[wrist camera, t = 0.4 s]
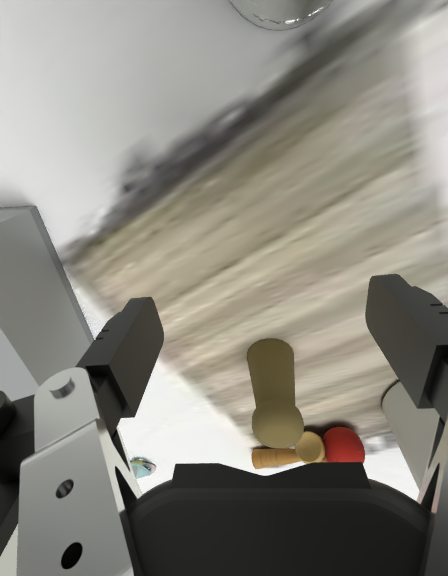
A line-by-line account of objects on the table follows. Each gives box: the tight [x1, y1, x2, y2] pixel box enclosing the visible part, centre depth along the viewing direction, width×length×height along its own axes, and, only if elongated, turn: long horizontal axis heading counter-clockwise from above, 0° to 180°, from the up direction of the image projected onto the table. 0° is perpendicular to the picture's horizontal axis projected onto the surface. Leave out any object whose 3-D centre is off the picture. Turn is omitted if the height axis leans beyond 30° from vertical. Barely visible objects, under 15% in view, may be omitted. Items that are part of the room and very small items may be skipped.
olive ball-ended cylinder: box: [247, 339, 304, 449], centre depth 31 cm, size 6×6×11 cm
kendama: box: [252, 427, 365, 469], centre depth 44 cm, size 8×6×18 cm
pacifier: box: [130, 460, 156, 479], centre depth 52 cm, size 7×6×6 cm
